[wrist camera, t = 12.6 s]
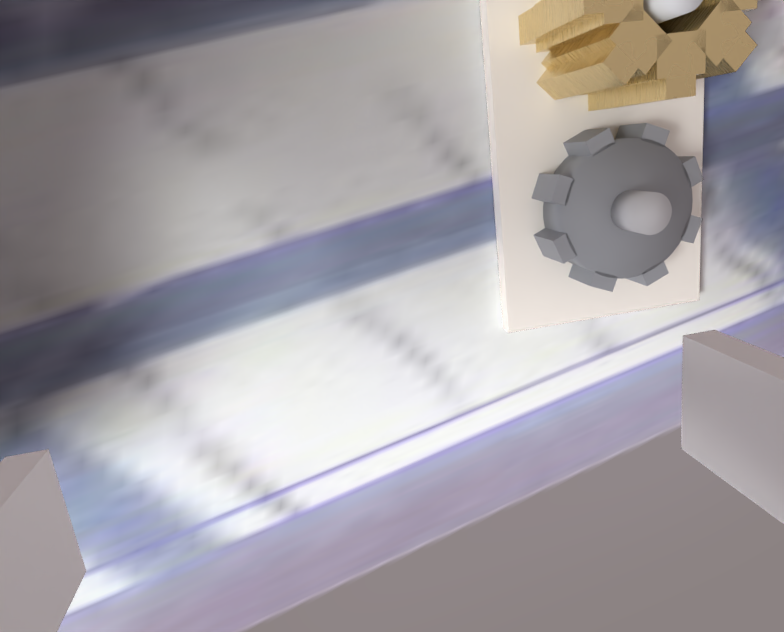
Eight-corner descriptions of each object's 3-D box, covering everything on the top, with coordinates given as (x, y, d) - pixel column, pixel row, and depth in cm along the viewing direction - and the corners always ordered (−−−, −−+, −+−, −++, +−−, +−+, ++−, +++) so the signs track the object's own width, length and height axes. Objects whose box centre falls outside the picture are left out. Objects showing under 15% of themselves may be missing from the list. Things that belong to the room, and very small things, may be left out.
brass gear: (524, 119, 37) (586, 109, 29) (513, -65, 34) (579, -130, 26) (673, 100, 38) (771, 86, 30) (675, -79, 35) (782, -144, 28)
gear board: (502, 328, 41) (561, 374, 32) (471, -105, 34) (535, -196, 25) (688, 296, 43) (791, 332, 34) (695, -120, 36) (827, -210, 27)
